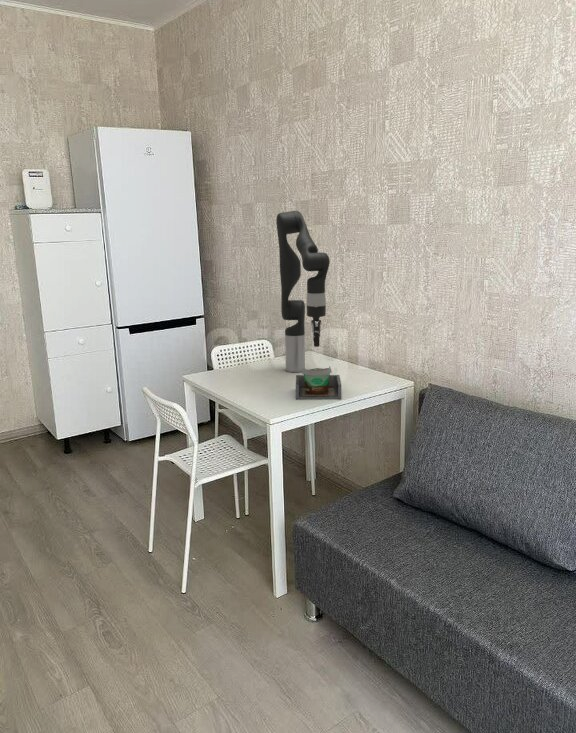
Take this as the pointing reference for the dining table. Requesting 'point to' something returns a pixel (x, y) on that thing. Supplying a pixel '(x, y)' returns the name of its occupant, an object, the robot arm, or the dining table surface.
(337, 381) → the keeper cradle
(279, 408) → the dining table surface
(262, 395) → the dining table surface
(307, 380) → the food container
